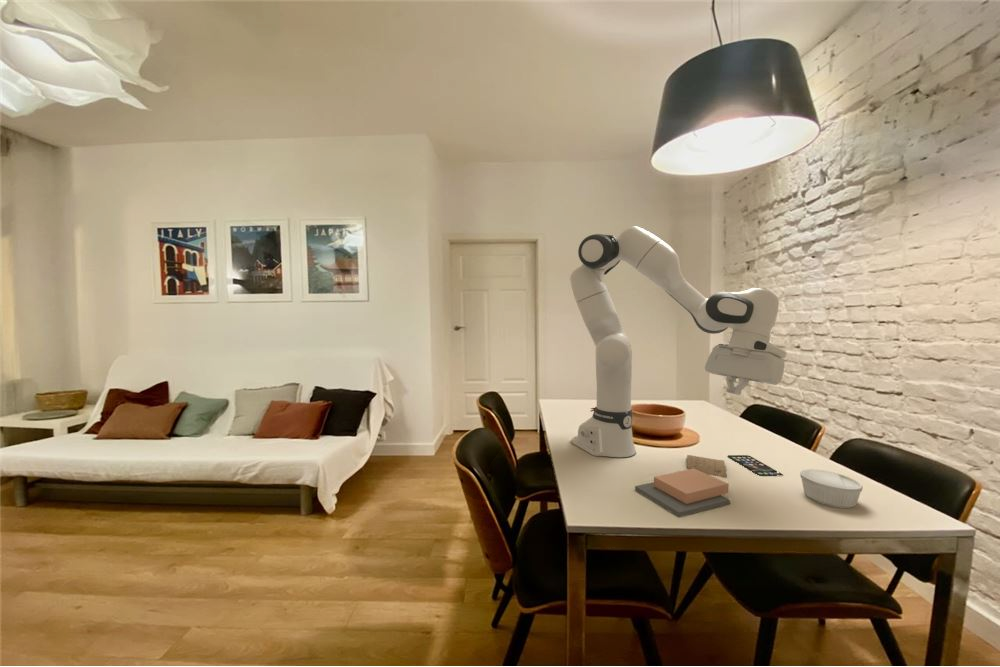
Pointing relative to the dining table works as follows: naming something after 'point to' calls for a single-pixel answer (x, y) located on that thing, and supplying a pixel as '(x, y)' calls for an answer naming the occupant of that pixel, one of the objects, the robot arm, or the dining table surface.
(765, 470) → the smartphone
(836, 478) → the ramekin
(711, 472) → the clay tablet
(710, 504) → the mat
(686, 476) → the tile
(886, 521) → the dining table surface
